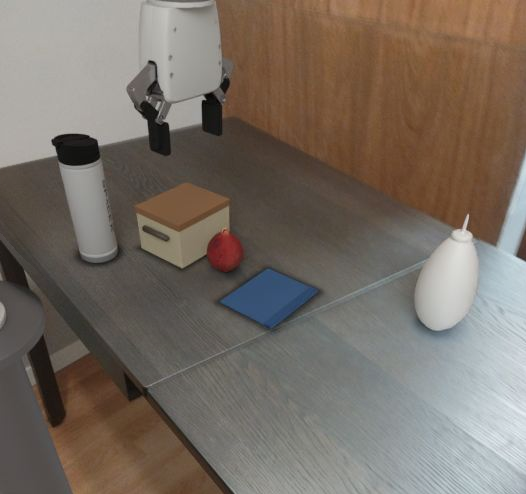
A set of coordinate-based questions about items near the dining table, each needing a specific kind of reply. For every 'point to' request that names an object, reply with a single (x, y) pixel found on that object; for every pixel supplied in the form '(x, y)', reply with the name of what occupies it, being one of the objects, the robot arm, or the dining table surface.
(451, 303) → the white air blower bulb
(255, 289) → the cloth
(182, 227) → the bin
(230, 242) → the red pomegranate
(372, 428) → the dining table surface
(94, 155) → the travel mug
